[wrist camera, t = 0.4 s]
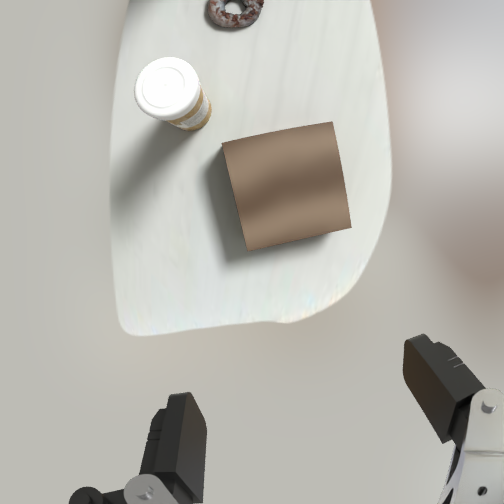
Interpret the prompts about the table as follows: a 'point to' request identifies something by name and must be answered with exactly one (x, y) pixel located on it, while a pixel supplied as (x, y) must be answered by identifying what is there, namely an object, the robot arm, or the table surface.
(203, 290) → the table surface
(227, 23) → the donut
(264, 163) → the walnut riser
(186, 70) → the sprinkles bottle
